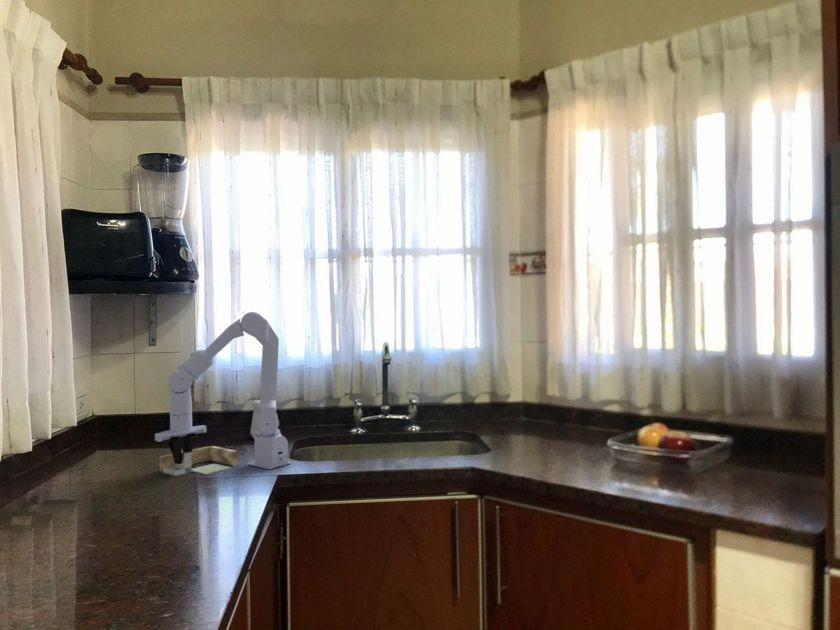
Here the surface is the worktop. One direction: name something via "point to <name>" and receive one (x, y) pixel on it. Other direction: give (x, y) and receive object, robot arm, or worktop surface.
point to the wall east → (196, 457)
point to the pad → (210, 469)
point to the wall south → (223, 455)
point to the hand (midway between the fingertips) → (182, 462)
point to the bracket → (180, 465)
